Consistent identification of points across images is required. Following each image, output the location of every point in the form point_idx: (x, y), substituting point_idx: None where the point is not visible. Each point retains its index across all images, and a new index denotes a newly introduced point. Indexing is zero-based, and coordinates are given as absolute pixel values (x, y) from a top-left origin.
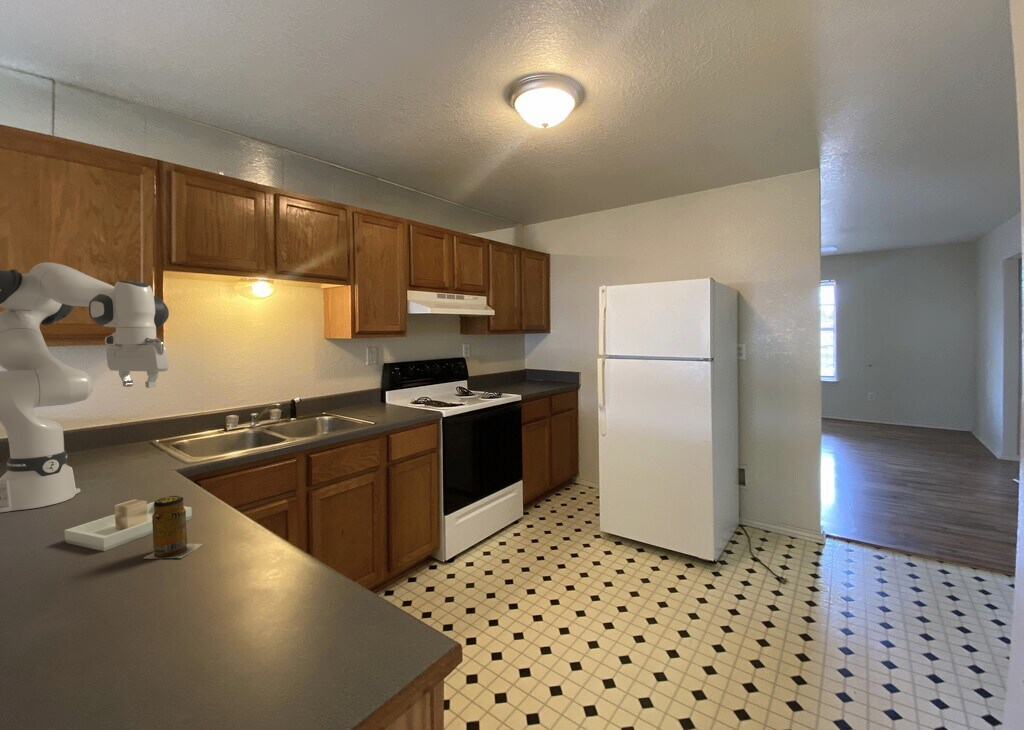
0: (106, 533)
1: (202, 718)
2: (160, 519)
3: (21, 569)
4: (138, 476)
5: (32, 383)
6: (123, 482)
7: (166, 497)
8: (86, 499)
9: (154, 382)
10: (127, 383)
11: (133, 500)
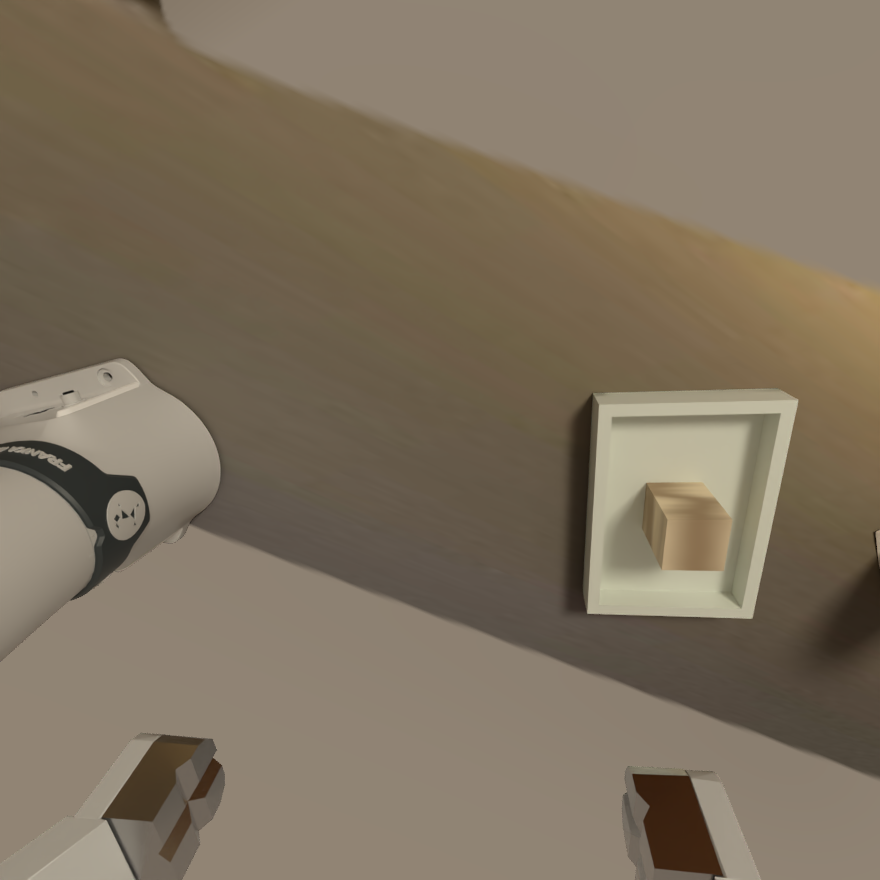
0: (649, 551)
1: None
2: None
3: (648, 679)
4: (50, 139)
5: None
6: (106, 224)
7: None
8: (238, 395)
9: (743, 860)
10: (196, 823)
11: (676, 528)
